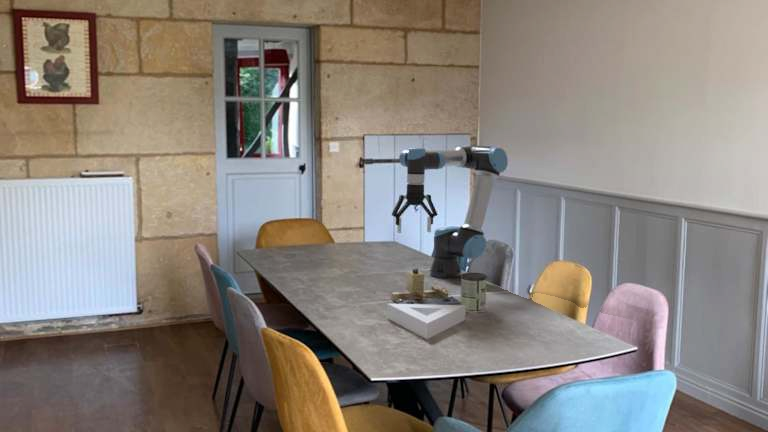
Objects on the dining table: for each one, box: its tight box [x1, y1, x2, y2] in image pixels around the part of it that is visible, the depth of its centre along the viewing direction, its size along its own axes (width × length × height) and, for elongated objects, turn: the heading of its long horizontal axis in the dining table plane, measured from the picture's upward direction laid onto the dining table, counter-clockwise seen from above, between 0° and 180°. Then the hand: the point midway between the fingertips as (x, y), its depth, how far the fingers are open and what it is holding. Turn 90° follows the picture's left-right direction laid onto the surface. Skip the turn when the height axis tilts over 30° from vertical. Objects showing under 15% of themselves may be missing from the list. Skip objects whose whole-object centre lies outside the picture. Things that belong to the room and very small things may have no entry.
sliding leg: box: [406, 267, 426, 301], centre depth 327 cm, size 5×15×11 cm, turn 17°
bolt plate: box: [395, 295, 461, 305], centre depth 322 cm, size 25×10×2 cm, turn 107°
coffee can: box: [460, 272, 488, 314], centre depth 315 cm, size 10×10×14 cm
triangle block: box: [386, 303, 466, 340], centre depth 295 cm, size 30×26×6 cm
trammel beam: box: [390, 285, 449, 302], centre depth 328 cm, size 24×14×4 cm, turn 107°
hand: (414, 232), depth 341 cm, fingers open, 13 cm apart
